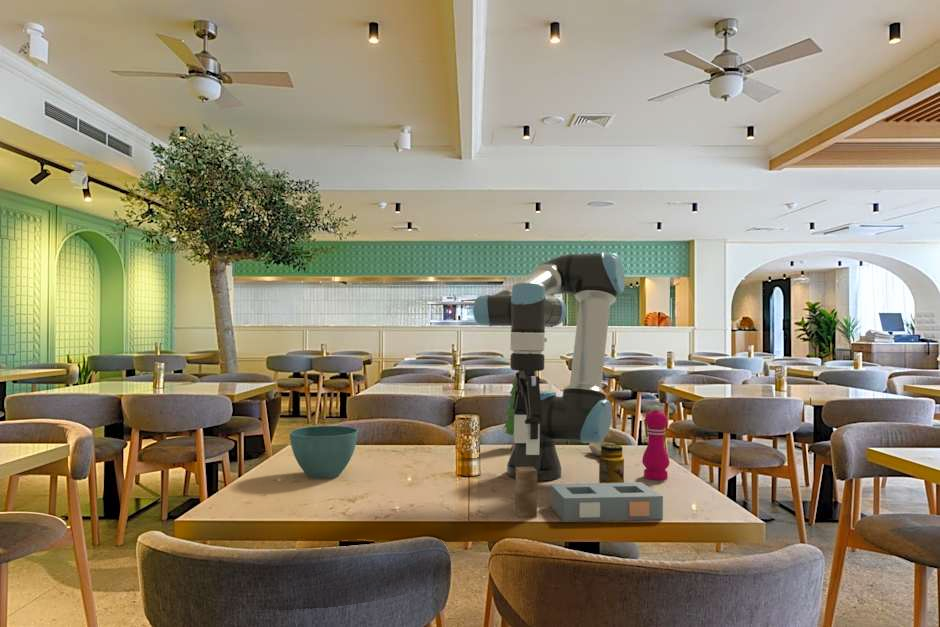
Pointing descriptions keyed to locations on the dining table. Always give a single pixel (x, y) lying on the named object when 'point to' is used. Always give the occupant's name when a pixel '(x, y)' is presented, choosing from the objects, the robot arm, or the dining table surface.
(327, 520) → the dining table surface
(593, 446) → the oil lamp
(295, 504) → the dining table surface
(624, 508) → the socket block
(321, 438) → the plant pot
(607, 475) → the condiment
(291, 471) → the dining table surface
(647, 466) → the pepper mill
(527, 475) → the plug
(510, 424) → the decorative tree
